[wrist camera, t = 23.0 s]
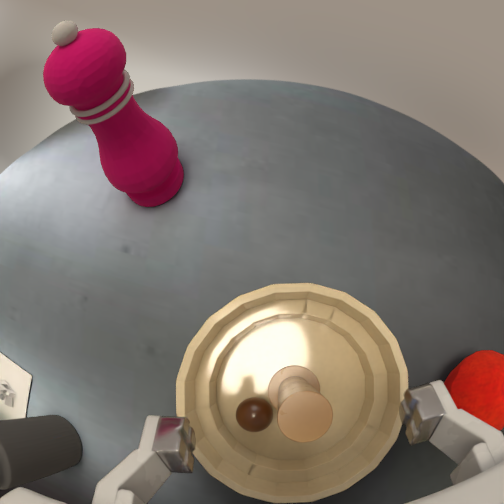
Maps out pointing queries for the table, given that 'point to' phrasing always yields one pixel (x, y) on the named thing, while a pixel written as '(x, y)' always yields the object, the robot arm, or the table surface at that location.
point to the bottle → (36, 449)
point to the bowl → (258, 378)
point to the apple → (479, 386)
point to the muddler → (299, 404)
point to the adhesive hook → (13, 389)
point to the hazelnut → (254, 414)
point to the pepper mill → (113, 113)
